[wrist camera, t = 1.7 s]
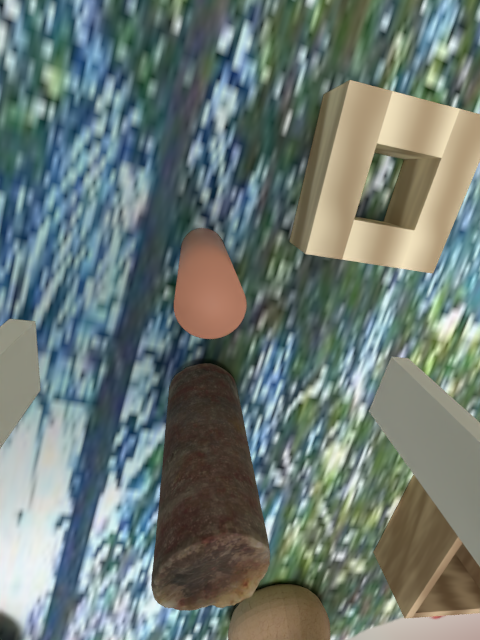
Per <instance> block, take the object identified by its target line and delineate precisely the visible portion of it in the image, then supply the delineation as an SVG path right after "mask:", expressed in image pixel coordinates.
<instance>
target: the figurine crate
mask: <svg viewBox="0 0 480 640" xmlns="http://www.w3.org/2000/svg"><path fill="white" fill-rule="evenodd" d="M374 554H375V556H376V559H377V561H378V563H379V565H380V567H381V569H382V571H383V573H384V575H385V578H386V580H387V582H388V584H389V586H390V588H391V590H392V592H393V595H394V597H395V599H396V601H397V603H398V605H399V607H400V609H401V612H402V614H403V616H404V618H416V617H431V616H445V615H457V614H458V615H459V614H472V613H480V567H479V565H478V564H477V562H476V561H475V560H474V558H473V557H472V555H471V554H470V553H469V551H468V550H467V548H466V547H465V546H464V544H463V543H462V541H461V540H460V539H459V537H458V536H457V534H456V533H455V531H454V530H453V529H452V527H451V526H450V524H449V523H448V522H447V520H446V519H445V517H444V516H443V515H442V513H441V512H440V510H439V509H438V508H437V506H436V505H435V503H434V502H433V501H432V499H431V498H430V496H429V495H428V494H427V492H426V491H425V489H424V488H423V487H422V485H421V484H420V482H419V481H418V480H417V478H416V477H415V475H413V477H412V479H411V481H410V483H409V485H408V487H407V489H406V491H405V492H404V494H403V496H402V498H401V500H400V502H399V504H398V506H397V508H396V510H395V512H394V514H393V516H392V518H391V519H390V521H389V523H388V525H387V527H386V529H385V531H384V533H383V535H382V537H381V539H380V541H379V543H378V545H377V546H376V548H375V550H374Z"/></svg>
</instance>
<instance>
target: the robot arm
mask: <svg viewBox="0 0 480 640" xmlns="http://www.w3.org/2000/svg"><path fill="white" fill-rule="evenodd" d="M39 391H40V378H39V364H38V351H37V337H36V324H35V321H26V320H16V319H9V320H8V321H7V322H5V323H4V324H3V325H2V326H1V327H0V448H1V447H2V445H3V444H4V442H5V441H6V439H7V438H8V436H9V435H10V434H11V432H12V431H13V429H14V428H15V426H16V425H17V423H18V422H19V420H20V419H21V418H22V416H23V415H24V413H25V412H26V410H27V409H28V407H29V406H30V404H31V403H32V402H33V400H34V399H35V397H36V396H37V394H38V393H39ZM369 412H370V413H371V415H372V416H373V418H374V419H375V420H376V422H377V423H378V425H379V426H380V428H381V429H382V430H383V432H384V433H385V435H386V436H387V437H388V439H389V440H390V442H391V443H392V444H393V446H394V447H395V449H396V450H397V451H398V453H399V454H400V456H401V457H402V458H403V460H404V461H405V463H406V464H407V465H408V467H409V468H410V470H411V471H412V472H413V474H414V475H415V477H416V478H417V480H418V481H419V482H420V484H421V485H422V487H423V488H424V489H425V491H426V492H427V494H428V495H429V496H430V498H431V499H432V501H433V502H434V503H435V505H436V506H437V508H438V509H439V510H440V512H441V513H442V515H443V516H444V517H445V519H446V520H447V522H448V523H449V524H450V526H451V527H452V529H453V530H454V531H455V533H456V534H457V536H458V537H459V539H460V540H461V541H462V543H463V544H464V546H465V547H466V548H467V550H468V551H469V553H470V554H471V555H472V557H473V558H474V560H475V561H476V562H477V564H478V565H479V567H480V422H478V421H477V420H476V419H475V418H474V417H473V416H472V415H471V414H470V413H468V412H467V411H466V410H465V409H464V408H463V407H462V406H461V405H460V404H458V403H457V402H456V401H455V400H454V399H453V398H452V397H451V396H449V395H448V394H447V393H446V392H445V391H444V390H443V389H442V388H441V387H439V386H438V385H437V384H436V383H435V382H434V381H433V380H432V379H431V378H429V377H428V376H427V375H426V374H425V373H424V372H423V371H422V370H421V369H419V368H418V367H417V366H416V365H415V364H414V363H413V362H412V361H411V360H409V359H408V358H399V357H391V359H390V361H389V364H388V366H387V369H386V371H385V374H384V376H383V378H382V381H381V383H380V386H379V388H378V391H377V393H376V396H375V398H374V400H373V403H372V405H371V408H370V410H369Z"/></svg>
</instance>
